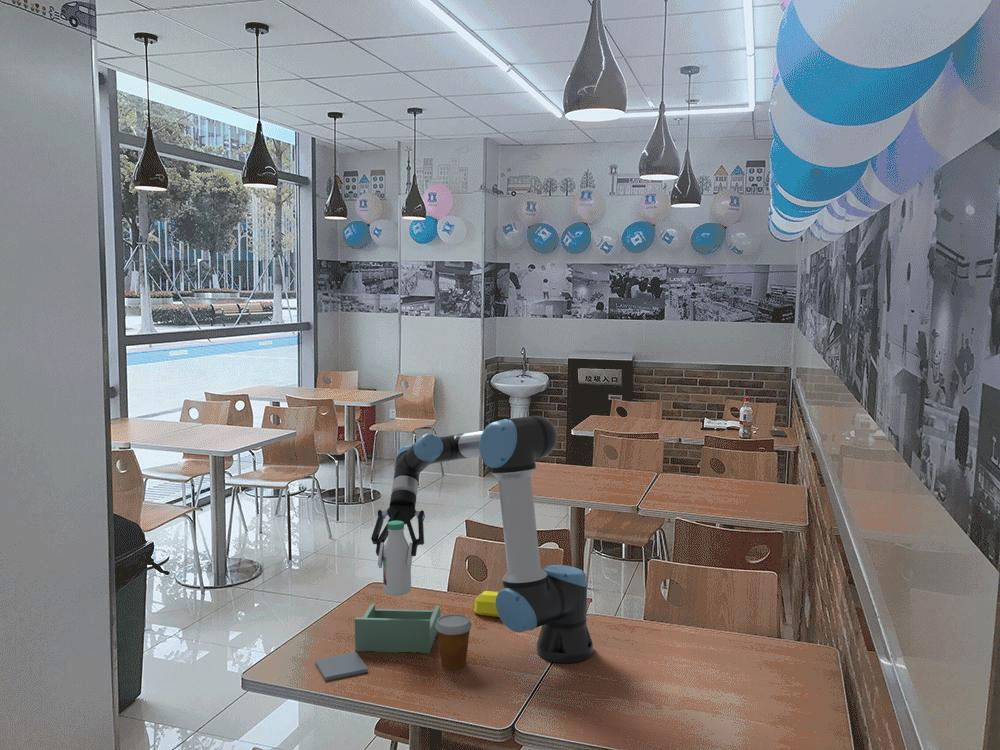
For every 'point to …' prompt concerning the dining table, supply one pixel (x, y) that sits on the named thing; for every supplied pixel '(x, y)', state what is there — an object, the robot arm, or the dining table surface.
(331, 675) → the slate tile
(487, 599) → the yellow faceted block
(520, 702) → the dining table surface
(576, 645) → the robot arm
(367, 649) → the green wooden frame
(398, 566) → the milk bottle
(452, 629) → the disposable coffee cup
